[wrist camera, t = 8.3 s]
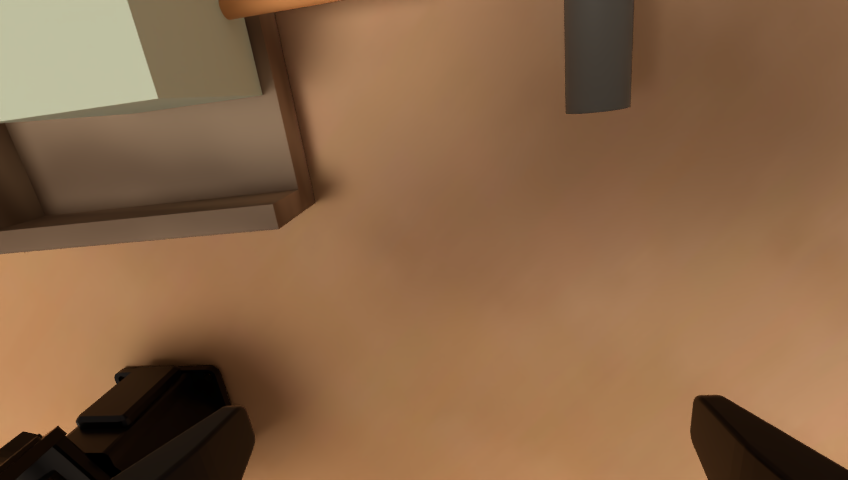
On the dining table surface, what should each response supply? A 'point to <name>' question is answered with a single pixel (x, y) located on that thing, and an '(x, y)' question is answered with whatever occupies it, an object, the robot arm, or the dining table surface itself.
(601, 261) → the dining table surface
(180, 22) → the corded block
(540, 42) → the dining table surface
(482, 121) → the dining table surface
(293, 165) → the brown wooden tray
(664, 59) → the dining table surface
